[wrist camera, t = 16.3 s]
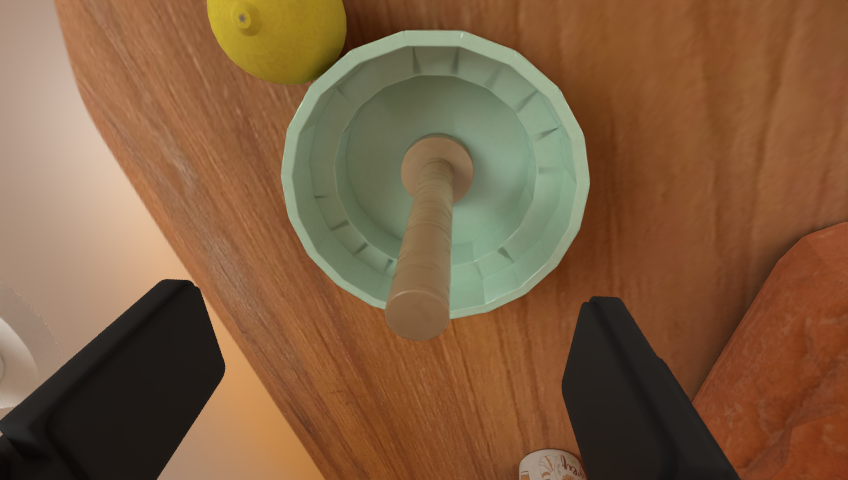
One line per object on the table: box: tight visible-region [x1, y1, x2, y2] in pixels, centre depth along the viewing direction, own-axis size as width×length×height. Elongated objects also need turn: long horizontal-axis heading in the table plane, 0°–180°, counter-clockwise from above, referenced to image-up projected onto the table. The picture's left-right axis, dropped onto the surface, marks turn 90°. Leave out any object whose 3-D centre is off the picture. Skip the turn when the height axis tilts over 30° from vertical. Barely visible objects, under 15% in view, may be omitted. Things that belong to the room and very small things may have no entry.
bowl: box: [281, 29, 590, 319], centre depth 22 cm, size 15×15×6 cm
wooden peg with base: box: [385, 133, 474, 341], centre depth 18 cm, size 4×4×14 cm
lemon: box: [207, 0, 347, 84], centre depth 18 cm, size 6×6×8 cm
